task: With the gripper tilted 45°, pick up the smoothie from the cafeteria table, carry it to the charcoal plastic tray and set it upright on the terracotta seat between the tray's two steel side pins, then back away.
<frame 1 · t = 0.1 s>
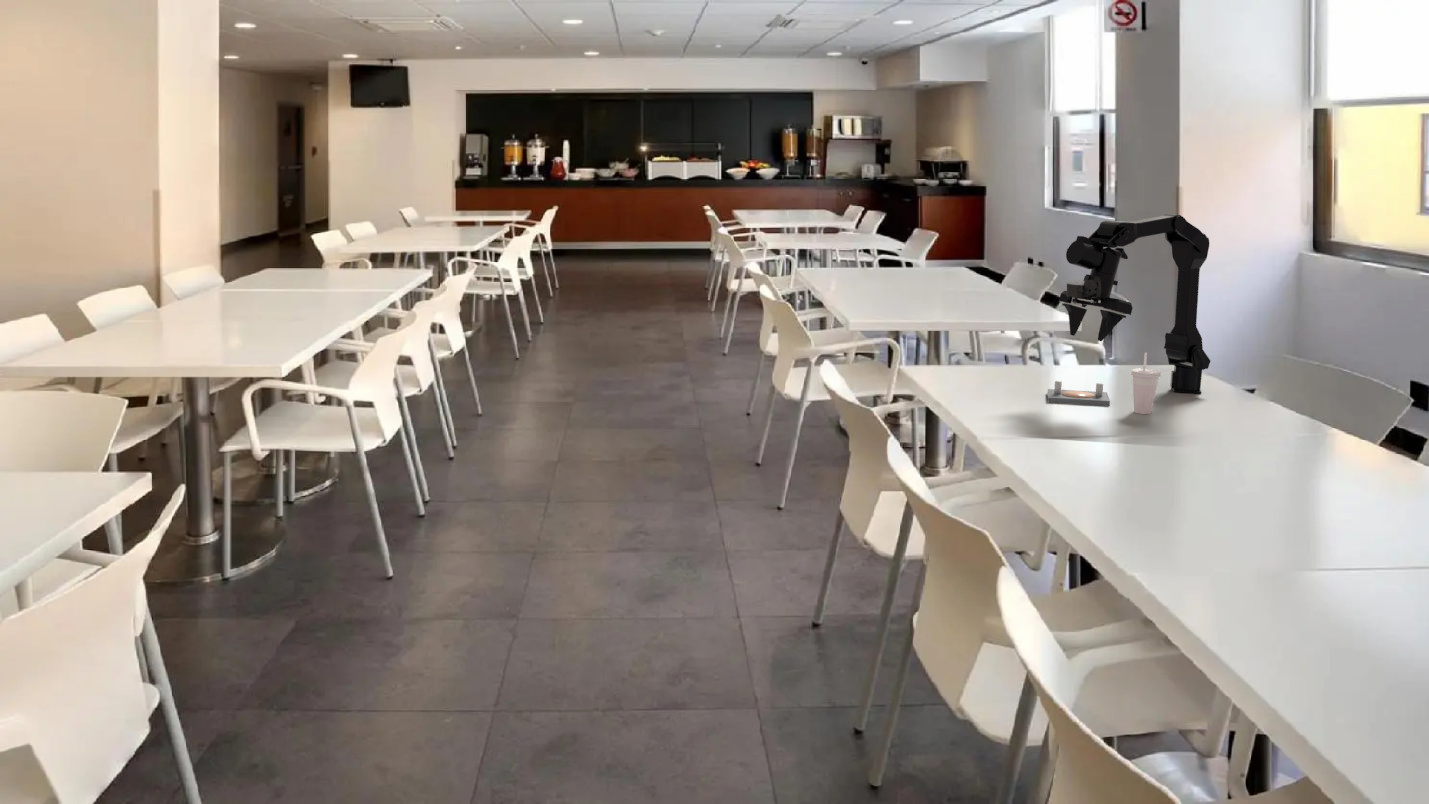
hand: (1085, 338, 289), 15 cm above the table, tool pointing down, fingers open, 9 cm apart
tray: (1077, 399, 295), on the table
smoothie: (1142, 413, 282), on the table
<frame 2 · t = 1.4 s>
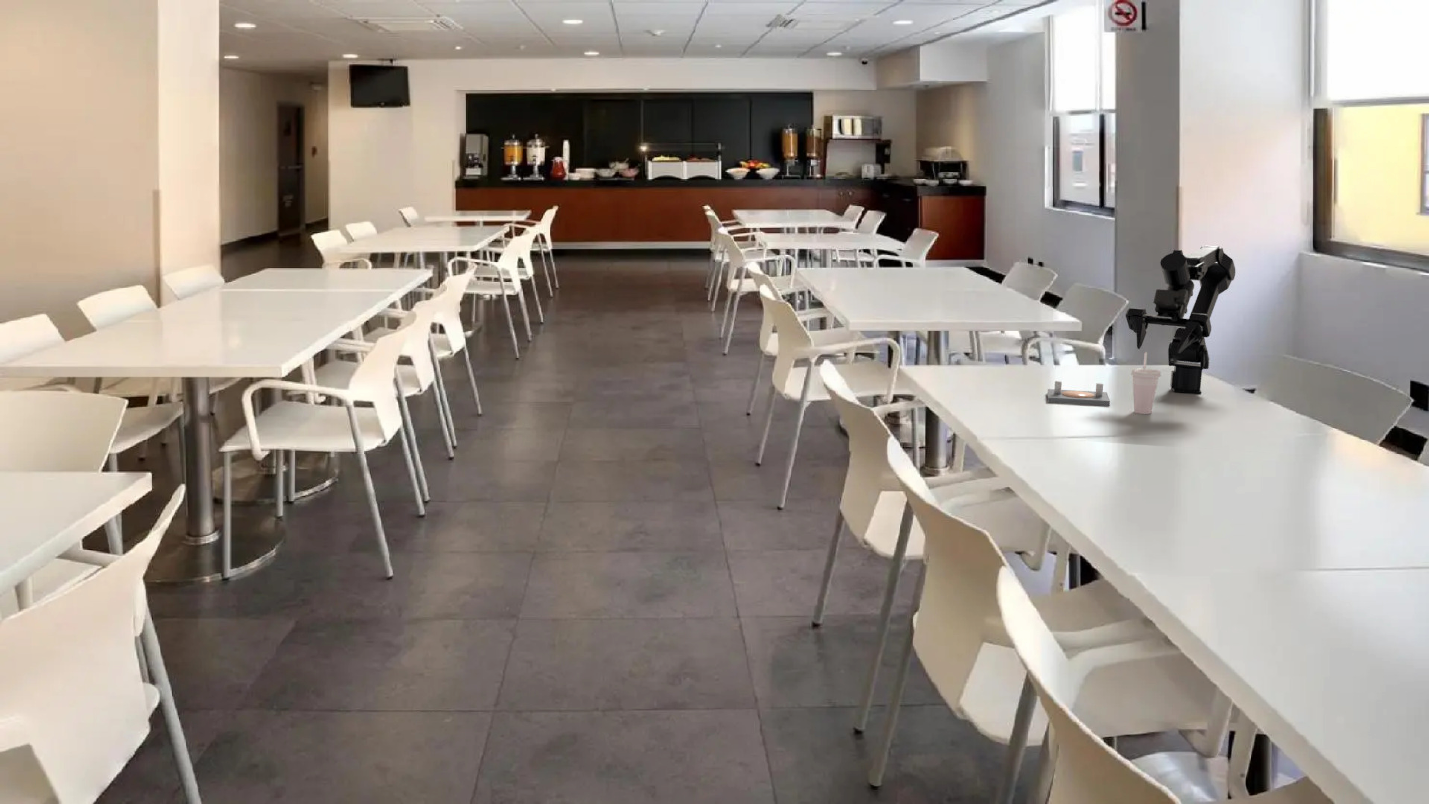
hand: (1157, 350, 285), 14 cm above the table, tool tilted 45°, fingers open, 9 cm apart
nothing on the table moved.
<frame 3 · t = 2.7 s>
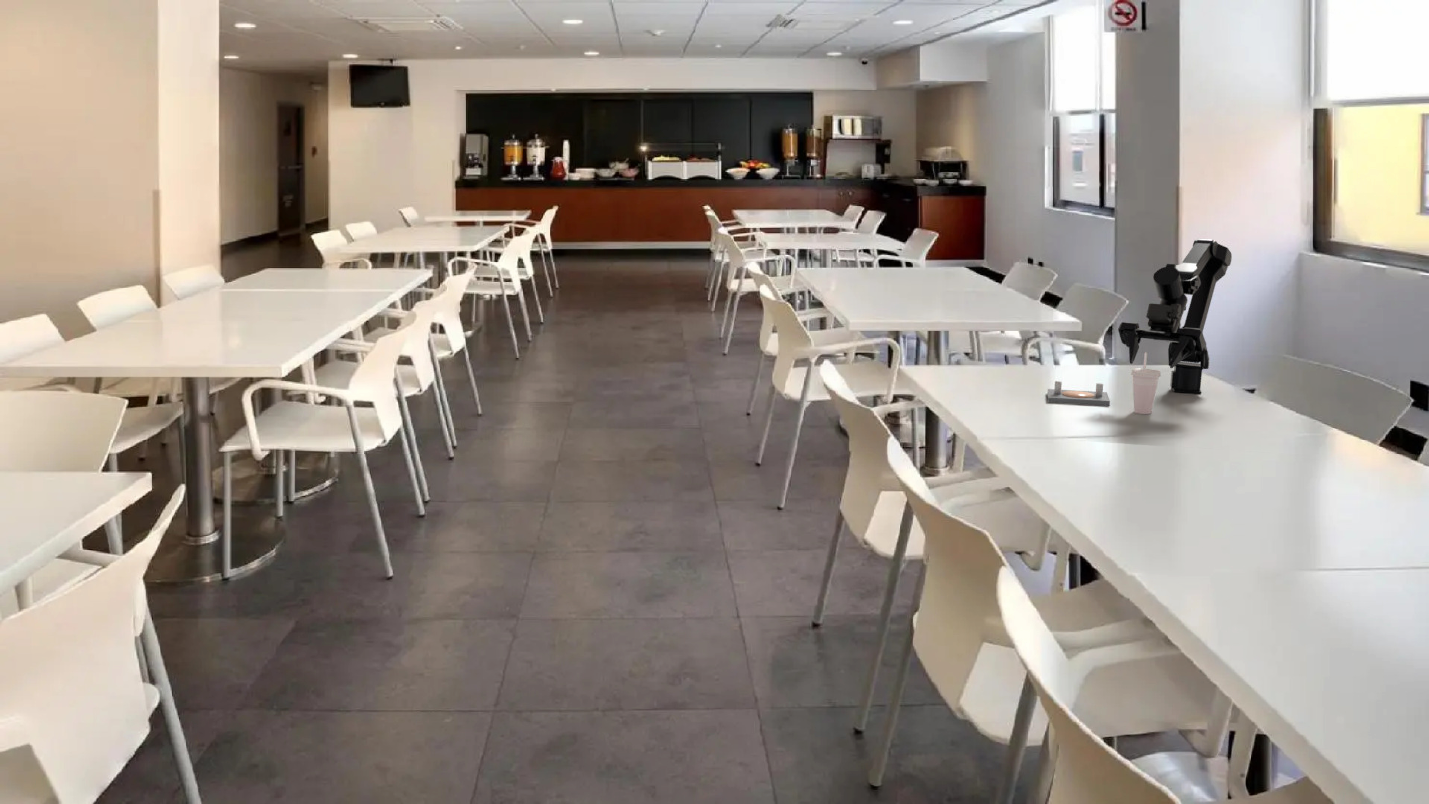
hand: (1150, 364, 282), 11 cm above the table, tool tilted 45°, fingers open, 9 cm apart
nothing on the table moved.
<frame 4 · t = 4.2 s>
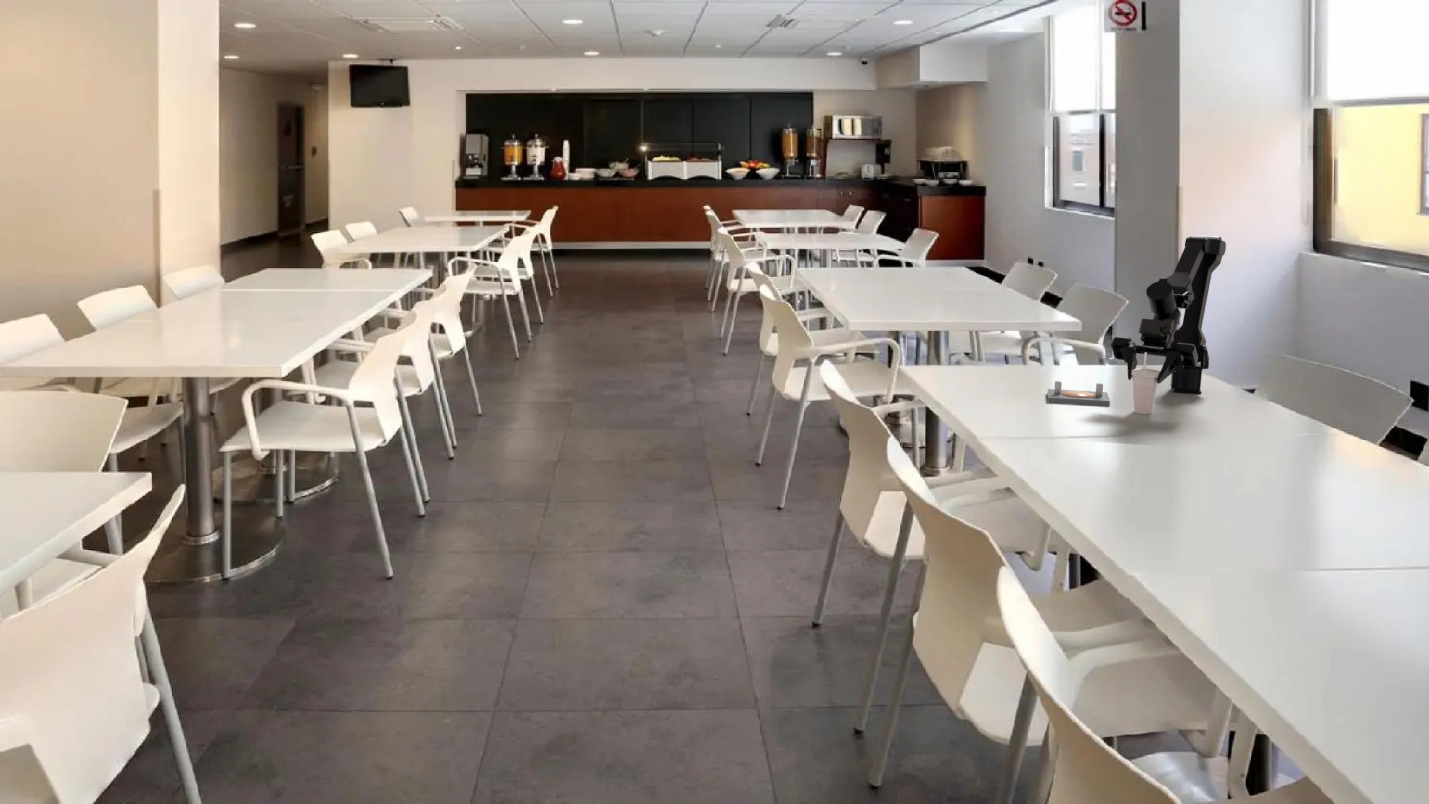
hand: (1143, 380, 279), 8 cm above the table, tool tilted 45°, fingers closed on smoothie, 6 cm apart
smoothie: (1142, 413, 282), on the table, touching gripper
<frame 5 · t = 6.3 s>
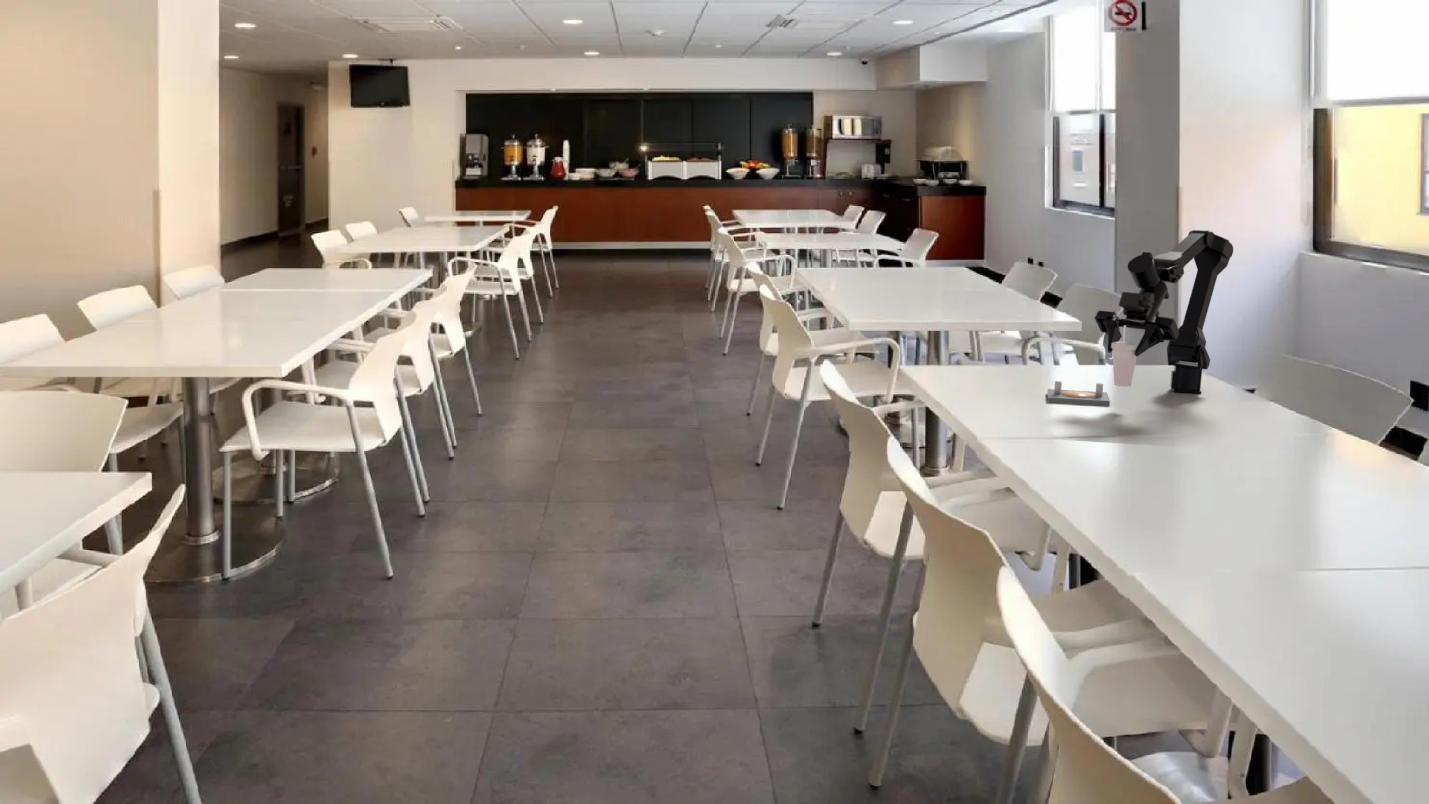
hand: (1122, 353, 281), 13 cm above the table, tool tilted 45°, fingers closed on smoothie, 6 cm apart
smoothie: (1122, 385, 284), point 5 cm above the table, touching gripper
when the fingers open (10 cm above the table, at t = 8.3 s): smoothie drops 1 cm, resting on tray.
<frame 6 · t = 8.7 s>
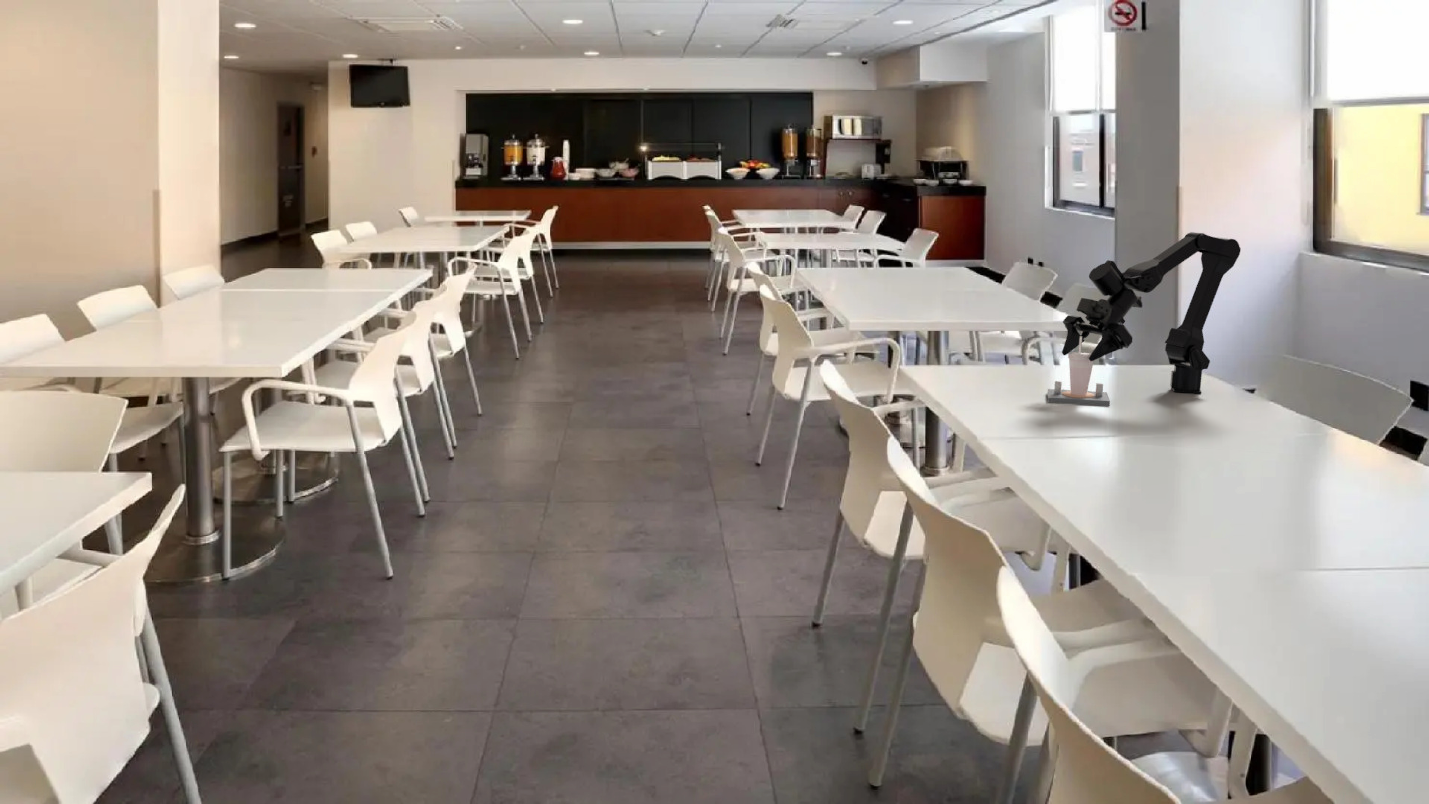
hand: (1076, 356, 292), 11 cm above the table, tool tilted 45°, fingers open, 9 cm apart
smoothie: (1078, 394, 295), point 1 cm above the table, touching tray
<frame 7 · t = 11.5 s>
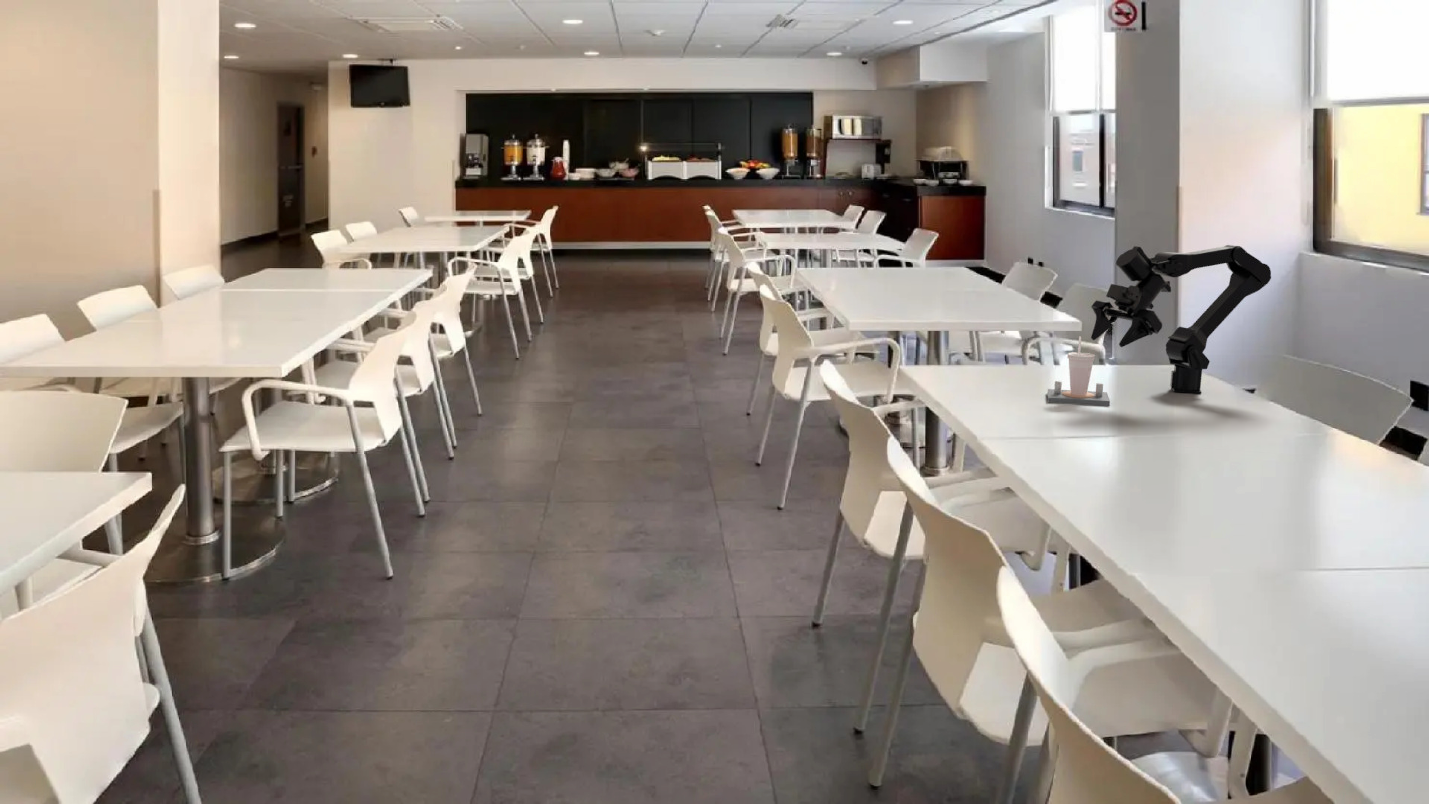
hand: (1106, 342, 296), 13 cm above the table, tool tilted 45°, fingers open, 9 cm apart
nothing on the table moved.
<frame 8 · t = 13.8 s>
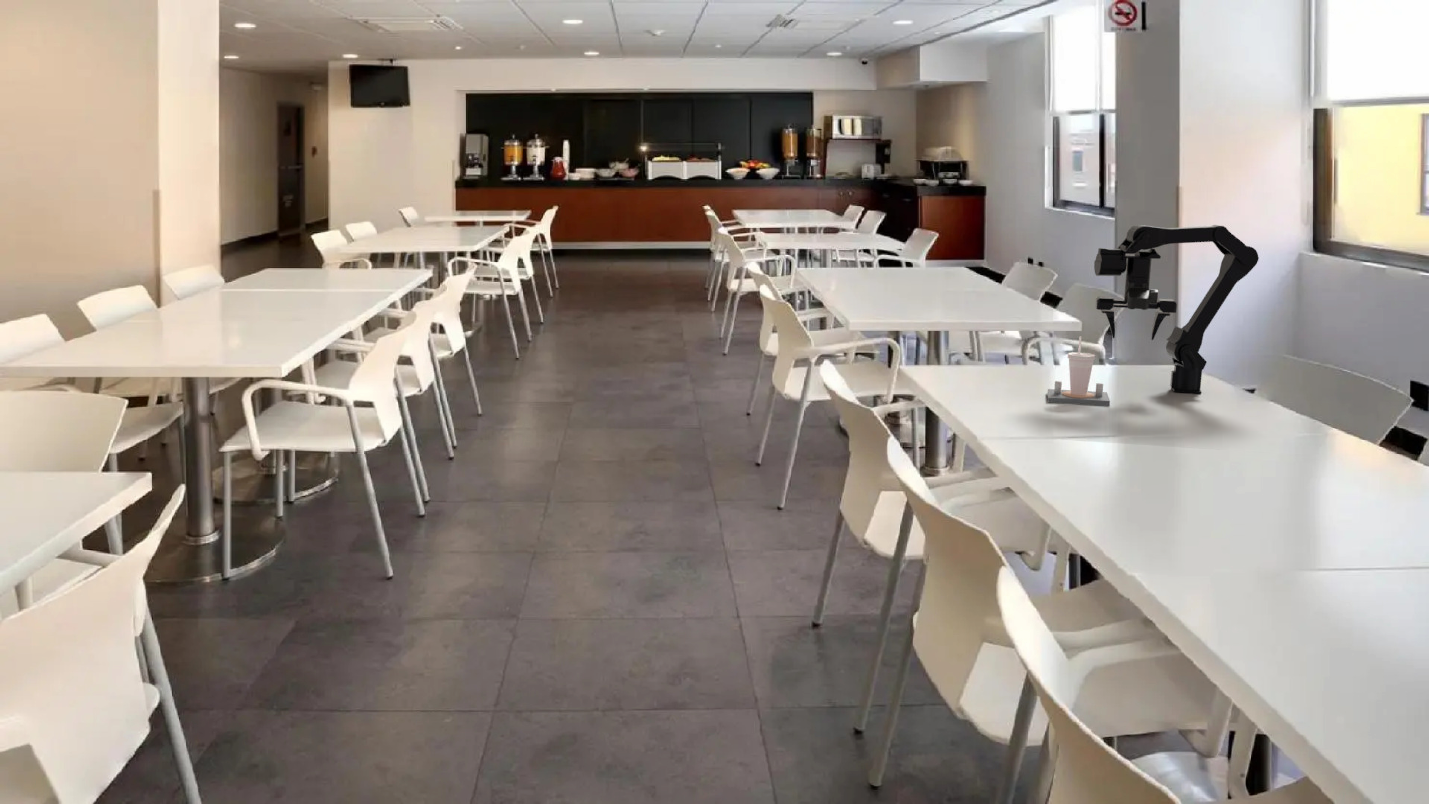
hand: (1132, 338, 305), 13 cm above the table, tool pointing down, fingers open, 9 cm apart
nothing on the table moved.
at the end: smoothie 0.1 cm off-centre on the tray, point 1.2 cm above the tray's base; smoothie tilted 1°; the gripper is holding nothing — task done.
